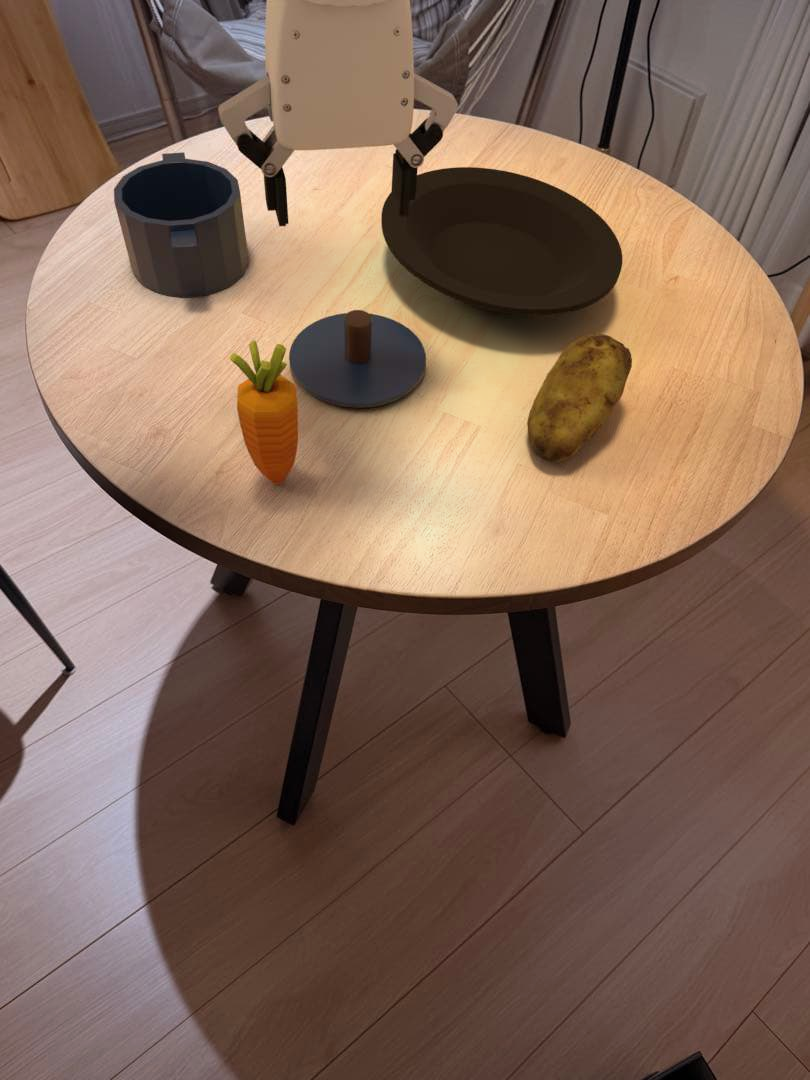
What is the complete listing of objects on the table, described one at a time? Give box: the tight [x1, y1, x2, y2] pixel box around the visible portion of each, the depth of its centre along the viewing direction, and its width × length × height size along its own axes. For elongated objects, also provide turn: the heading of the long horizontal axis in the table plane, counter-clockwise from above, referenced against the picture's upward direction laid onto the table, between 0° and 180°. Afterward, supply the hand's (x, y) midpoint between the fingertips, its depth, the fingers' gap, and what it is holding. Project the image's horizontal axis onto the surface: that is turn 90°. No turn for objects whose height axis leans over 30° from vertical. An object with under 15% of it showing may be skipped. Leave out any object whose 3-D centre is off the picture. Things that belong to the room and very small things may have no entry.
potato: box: [526, 333, 633, 463], centre depth 72 cm, size 8×13×8 cm, turn 131°
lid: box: [288, 309, 427, 409], centre depth 77 cm, size 14×14×6 cm
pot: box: [113, 152, 249, 298], centre depth 85 cm, size 13×18×8 cm
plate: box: [380, 166, 623, 316], centre depth 87 cm, size 28×24×6 cm
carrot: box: [229, 340, 299, 485], centre depth 63 cm, size 5×5×15 cm
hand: (341, 212), depth 63 cm, fingers open, 9 cm apart
